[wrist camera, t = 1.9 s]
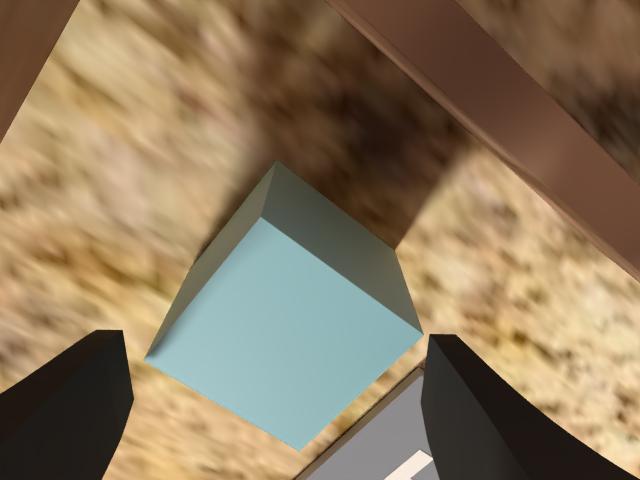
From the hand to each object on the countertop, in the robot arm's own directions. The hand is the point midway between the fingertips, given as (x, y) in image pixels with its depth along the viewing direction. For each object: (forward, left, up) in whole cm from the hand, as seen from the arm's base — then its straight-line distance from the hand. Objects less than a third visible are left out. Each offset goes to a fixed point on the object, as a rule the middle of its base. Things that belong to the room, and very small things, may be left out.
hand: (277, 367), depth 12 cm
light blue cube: (0, 0, -6) cm, 6 cm away
